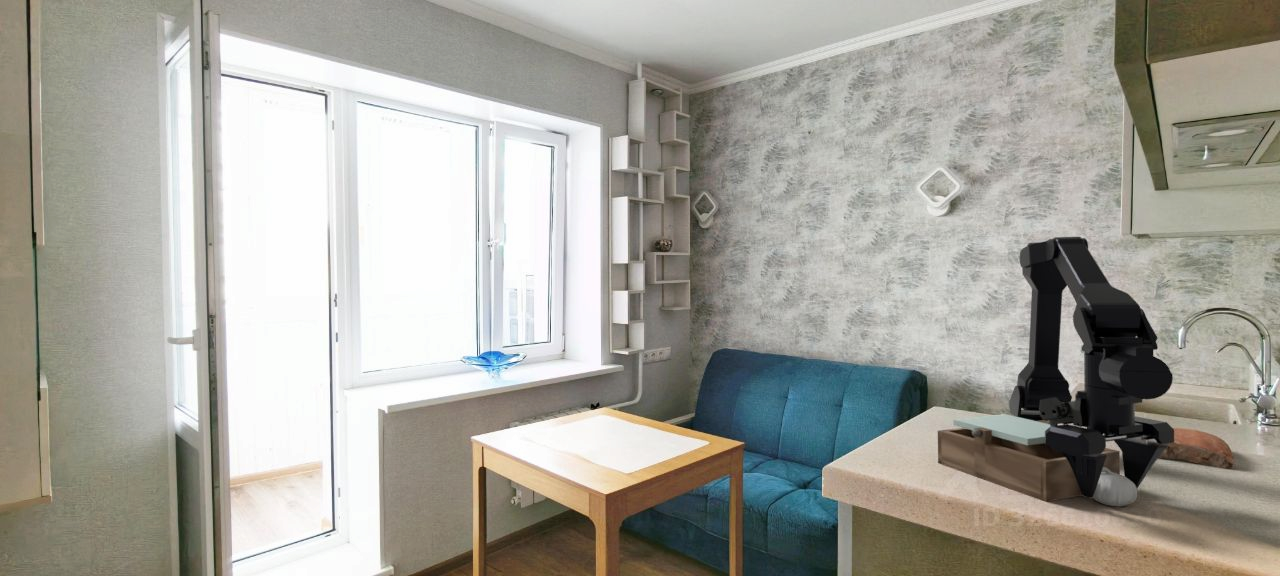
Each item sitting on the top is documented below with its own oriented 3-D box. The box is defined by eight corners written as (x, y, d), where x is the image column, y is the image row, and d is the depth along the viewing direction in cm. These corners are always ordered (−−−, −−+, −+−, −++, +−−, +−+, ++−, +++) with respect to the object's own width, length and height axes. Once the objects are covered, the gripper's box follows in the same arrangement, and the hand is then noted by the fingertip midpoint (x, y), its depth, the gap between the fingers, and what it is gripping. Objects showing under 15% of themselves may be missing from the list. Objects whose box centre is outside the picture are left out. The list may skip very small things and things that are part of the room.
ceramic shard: (1122, 413, 120) (1223, 435, 111) (1116, 445, 120) (1217, 468, 111) (1126, 417, 109) (1240, 442, 100) (1120, 452, 109) (1233, 479, 100)
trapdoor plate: (1004, 419, 109) (1004, 413, 109) (1082, 437, 95) (1082, 431, 95) (953, 425, 105) (953, 419, 105) (1027, 445, 91) (1027, 438, 91)
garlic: (1081, 504, 86) (1081, 468, 86) (1087, 494, 90) (1086, 459, 90) (1135, 514, 82) (1135, 477, 82) (1138, 503, 86) (1138, 468, 86)
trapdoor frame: (1008, 453, 111) (1007, 410, 111) (1124, 487, 92) (1123, 435, 92) (933, 463, 106) (933, 418, 105) (1041, 502, 87) (1040, 447, 86)
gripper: (1095, 374, 96) (1096, 469, 96) (1010, 382, 90) (1011, 483, 91) (1176, 385, 86) (1177, 492, 86) (1085, 394, 80) (1086, 509, 80)
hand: (1109, 493), depth 86 cm, fingers open, 9 cm apart
